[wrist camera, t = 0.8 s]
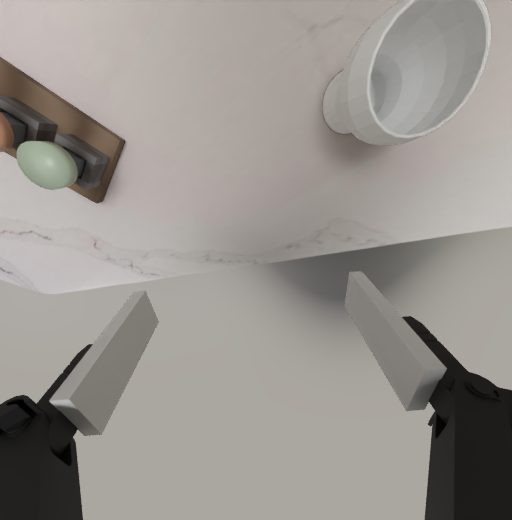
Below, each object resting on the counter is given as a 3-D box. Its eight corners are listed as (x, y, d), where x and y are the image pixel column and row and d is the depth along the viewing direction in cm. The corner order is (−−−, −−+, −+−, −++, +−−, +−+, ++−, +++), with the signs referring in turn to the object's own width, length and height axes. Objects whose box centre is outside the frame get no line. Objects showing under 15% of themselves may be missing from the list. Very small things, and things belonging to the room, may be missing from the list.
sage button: (50, 167, 30) (13, 172, 25) (58, 132, 28) (20, 130, 23) (89, 189, 31) (61, 198, 27) (100, 158, 29) (72, 160, 25)
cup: (341, 160, 34) (400, 171, 21) (297, 105, 30) (333, 75, 17) (402, 99, 30) (519, 66, 17) (359, 28, 27) (467, -84, 13)
